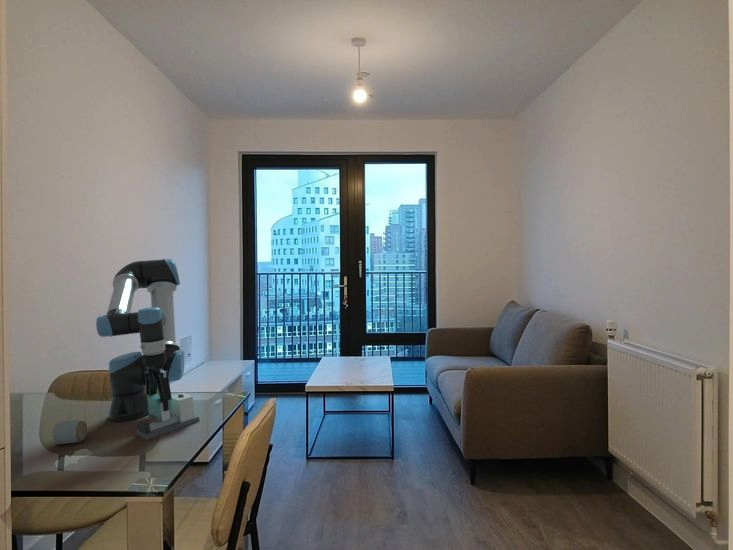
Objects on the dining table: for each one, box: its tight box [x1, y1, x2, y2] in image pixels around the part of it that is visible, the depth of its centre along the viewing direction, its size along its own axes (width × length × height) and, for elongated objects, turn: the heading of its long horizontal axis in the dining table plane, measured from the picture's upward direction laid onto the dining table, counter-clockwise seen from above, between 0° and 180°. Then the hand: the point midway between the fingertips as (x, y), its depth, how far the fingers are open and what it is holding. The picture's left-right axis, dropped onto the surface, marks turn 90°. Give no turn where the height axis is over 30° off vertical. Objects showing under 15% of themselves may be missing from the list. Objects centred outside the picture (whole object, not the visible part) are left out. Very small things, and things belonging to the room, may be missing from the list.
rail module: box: [147, 392, 173, 422], centre depth 170 cm, size 5×7×8 cm
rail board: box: [135, 392, 200, 440], centre depth 172 cm, size 19×8×10 cm, turn 138°
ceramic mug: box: [52, 419, 88, 445], centre depth 167 cm, size 11×8×8 cm
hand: (160, 417), depth 170 cm, fingers closed on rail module, 7 cm apart
